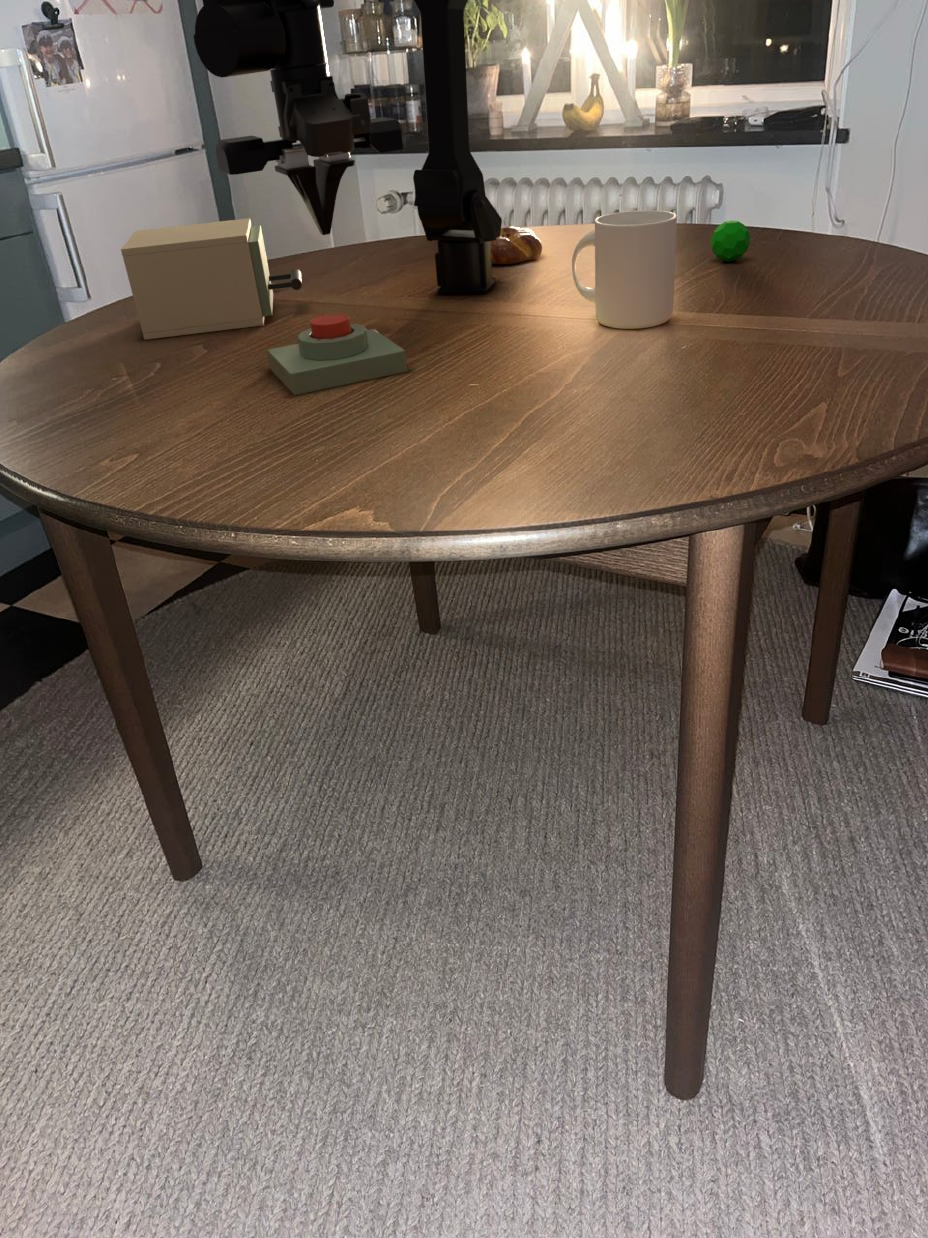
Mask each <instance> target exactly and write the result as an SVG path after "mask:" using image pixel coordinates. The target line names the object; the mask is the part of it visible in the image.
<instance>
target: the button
mask: <svg viewBox="0 0 928 1238" xmlns="http://www.w3.org/2000/svg"><path fill="white" fill-rule="evenodd" d="M350 323H351V319H350V316H349V315H347V314H343V313H332V314H324V315H320V316H317V317H314V318H312V319H310V321H309V324H310V328H311V331H312V337H313V338H314V339H333V338H339V337H344V336H347V335H349V334H351V333H352V332H351V325H350Z"/></svg>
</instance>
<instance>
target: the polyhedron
mask: <svg viewBox="0 0 928 1238" xmlns="http://www.w3.org/2000/svg"><path fill="white" fill-rule="evenodd" d="M750 242H751V235H750V232H749V230H748V228H747V227H746V225H745V224H743V223H742V222H740V221H739V220H727V221H724V222H722V223H721V224H719V225H718V226H717V227H716V229H714V231H713V232H712V235H711V237H710V248H711V250H712V253H713V254H714V256H715V257H716V258H717V259H719V260H721V261H723V262H733V261H737V260H739V259H740V258H742V257H743V256H744V255H745V253H746V252H747V251H748V249H749V247H750Z"/></svg>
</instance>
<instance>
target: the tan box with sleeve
mask: <svg viewBox="0 0 928 1238" xmlns="http://www.w3.org/2000/svg"><path fill="white" fill-rule="evenodd" d="M251 226H252V221H251V218H250V217H247V218H239V219H229V220H220V221H212V222H203V223H194V224H193V223H192V224H184V225H176V226H166V227H157V228H149V229H141V230H135V231H134V232H133V233H132V235H131V236H130V237H129V238H128V239H127V241H126V242H125V243H124V245H123V246H122V247H121V248H120V251H121V257H122V259H123V263H124V267H125V271H126V275H127V278H128V282H129V286H130V290H131V294H132V298H133V301H134V306H135V309H136V313H137V317H138V320H139V324H140V329H141V332H142V336H143V340H144V341H147V340H155V339H164V338H171V337H179V336H187V335H196V334H204V333H211V332H212V333H213V332H221V331H228V330H237V329H245V328H246V329H247V328H254V327H261V326H262V327H263V326H265V317H263V316H262V311H261V306H260V301H259V296H258V290H257V285H256V280H255V275H254V269H253V264H252V259H251V254H250V249H249V243H248V242H249V236H250V231H251Z"/></svg>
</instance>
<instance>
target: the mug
mask: <svg viewBox="0 0 928 1238" xmlns="http://www.w3.org/2000/svg"><path fill="white" fill-rule="evenodd" d="M677 221H678V215H677V214H676V213H675V212H672V211H667V210H660V209H659V210H658V209H638V210H624V211H616V212H612V213H611V212H610V213H607V214H604V215H600V216H598V217H596V218H595V219H594V229H593V230H591V231H589V232H587V233H586V234H585V235H584V236H583V237H581V239H580V240H579V241H578V242H577V244H576V246H575V248H574V250H573V254H572V258H571V268H572V269H571V271H572V277H573V282H574V286H575V288H576V290H577V291H578V293H579V294H580V295H581V297H582V298H584V299H585V300H586V301H588V302H590V303H592V304H594V310H595V318H596V320H597V322H598V323H599V324H601V325H603V326H605V327H607V328H608V327H609V328H613V329H619V330H620V329H622V330H638V329H647V328H652V327H655V326H659V325H662V324H665V323H667V322H668V321H669V320H670V319H671V317H672V316H673V312H674V305H675V303H674V301H675V281H676V280H675V278H676V277H675V275H676V253H677V252H676V250H677V249H676V248H677V223H678V222H677ZM592 247H594V287H588V286H586V285H584V284H583V283H582V282H581V280H580V279H579V277H578V273H577V261H578V259H579V256H580V255H581V253H583V252H584V250H586V249H589V248H592Z"/></svg>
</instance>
